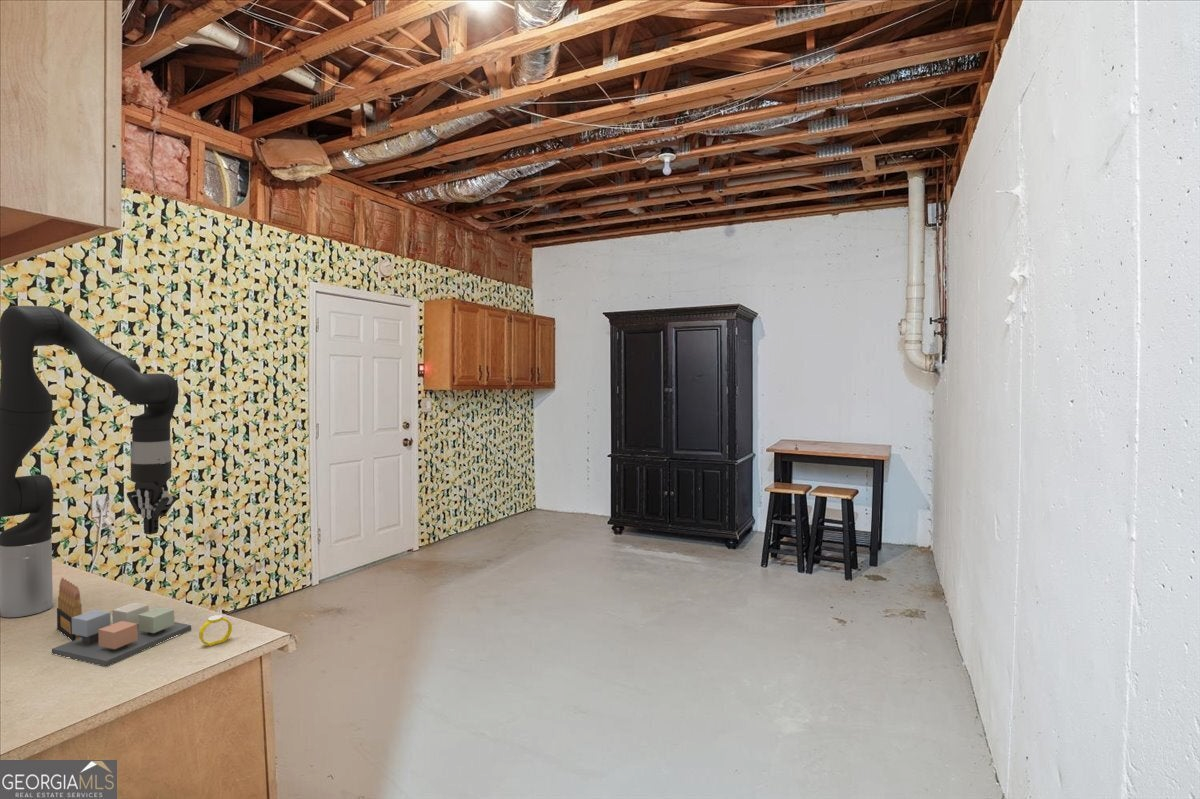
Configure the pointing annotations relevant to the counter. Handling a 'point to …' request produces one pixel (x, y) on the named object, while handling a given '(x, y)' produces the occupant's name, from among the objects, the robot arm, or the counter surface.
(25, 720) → the counter surface
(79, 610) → the ammunition clip
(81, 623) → the slate key
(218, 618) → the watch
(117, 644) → the terracotta key
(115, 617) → the cream key
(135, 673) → the counter surface
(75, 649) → the keypad board
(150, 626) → the sage key
